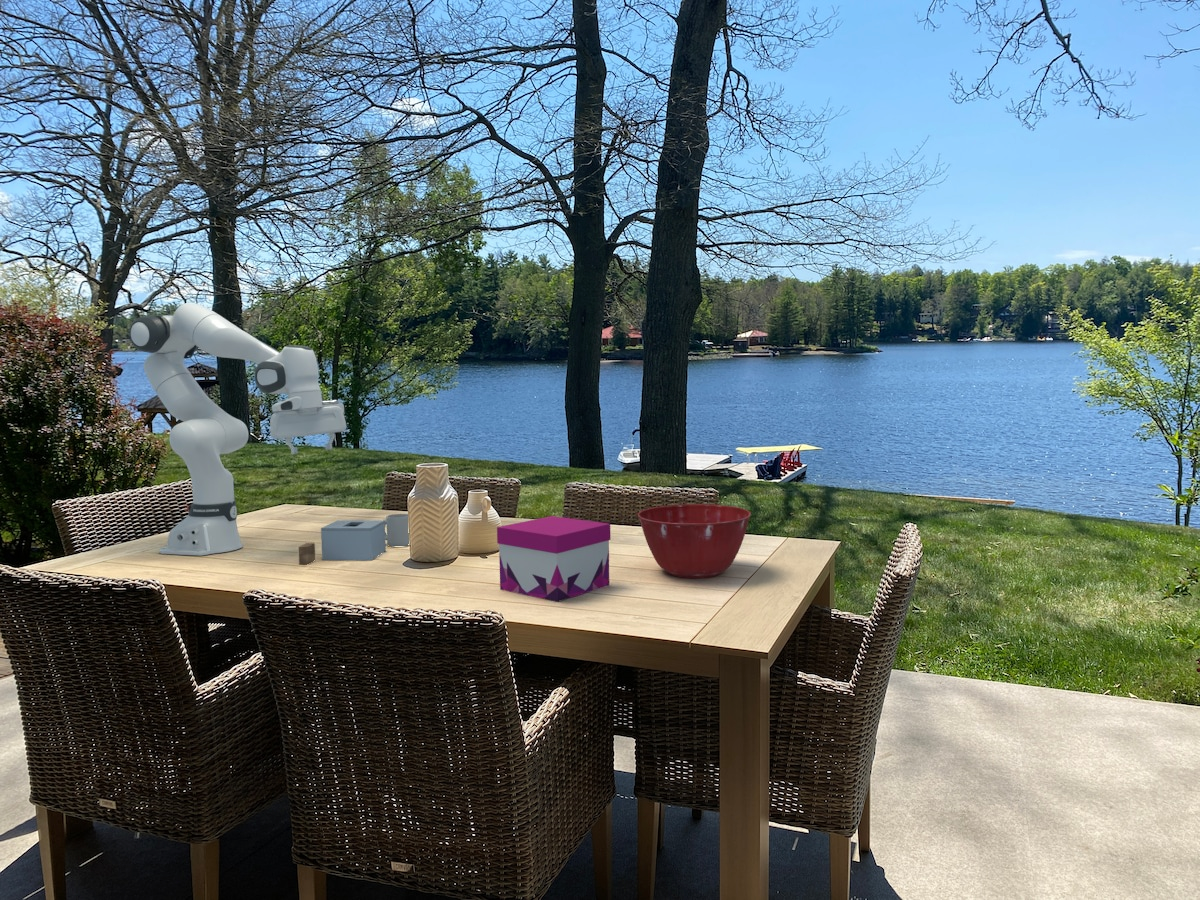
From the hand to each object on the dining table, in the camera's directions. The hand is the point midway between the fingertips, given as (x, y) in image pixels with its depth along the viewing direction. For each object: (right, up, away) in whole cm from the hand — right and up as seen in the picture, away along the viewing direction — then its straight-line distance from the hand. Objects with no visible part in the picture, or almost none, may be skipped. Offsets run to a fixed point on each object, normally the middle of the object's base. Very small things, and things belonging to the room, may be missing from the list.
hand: (312, 451), depth 235 cm
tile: (+1, -31, -6) cm, 31 cm away
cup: (+19, -28, +17) cm, 38 cm away
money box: (+11, -30, +3) cm, 32 cm away
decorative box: (+70, -33, -35) cm, 85 cm away
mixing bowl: (+105, -31, -22) cm, 111 cm away
